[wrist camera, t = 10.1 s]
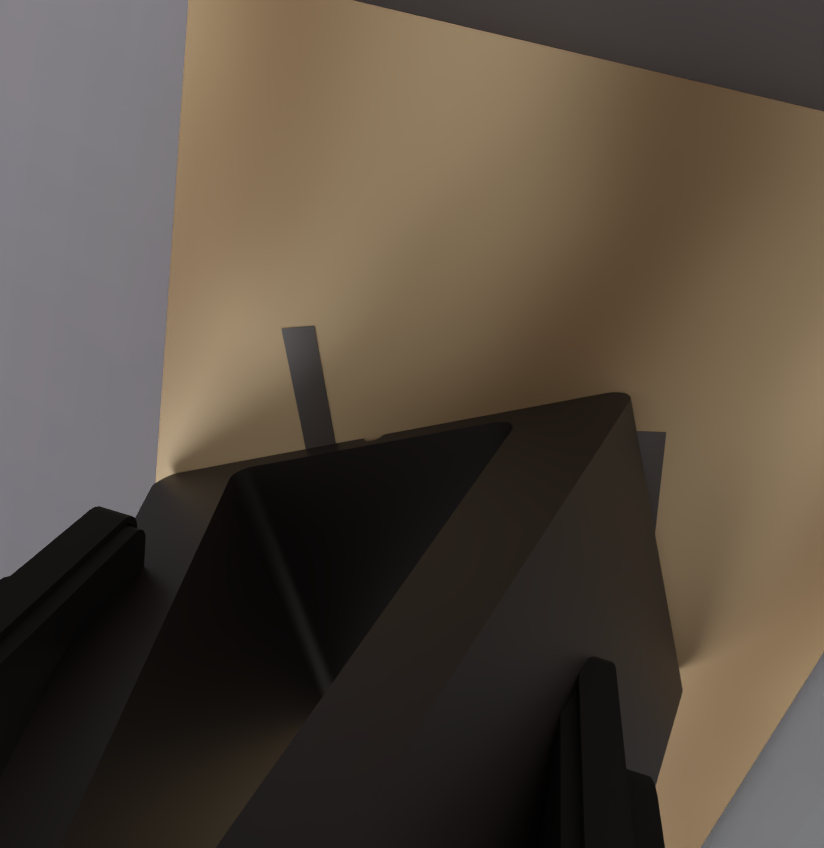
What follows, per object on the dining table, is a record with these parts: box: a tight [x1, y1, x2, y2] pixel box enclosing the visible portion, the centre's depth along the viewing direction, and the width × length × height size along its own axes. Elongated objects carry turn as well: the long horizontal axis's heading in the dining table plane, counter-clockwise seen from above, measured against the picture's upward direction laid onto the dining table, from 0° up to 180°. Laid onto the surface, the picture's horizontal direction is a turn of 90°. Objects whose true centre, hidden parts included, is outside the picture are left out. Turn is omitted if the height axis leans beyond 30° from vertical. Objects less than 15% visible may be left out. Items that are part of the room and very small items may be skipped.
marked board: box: [156, 0, 824, 848], centre depth 14 cm, size 13×17×1 cm
